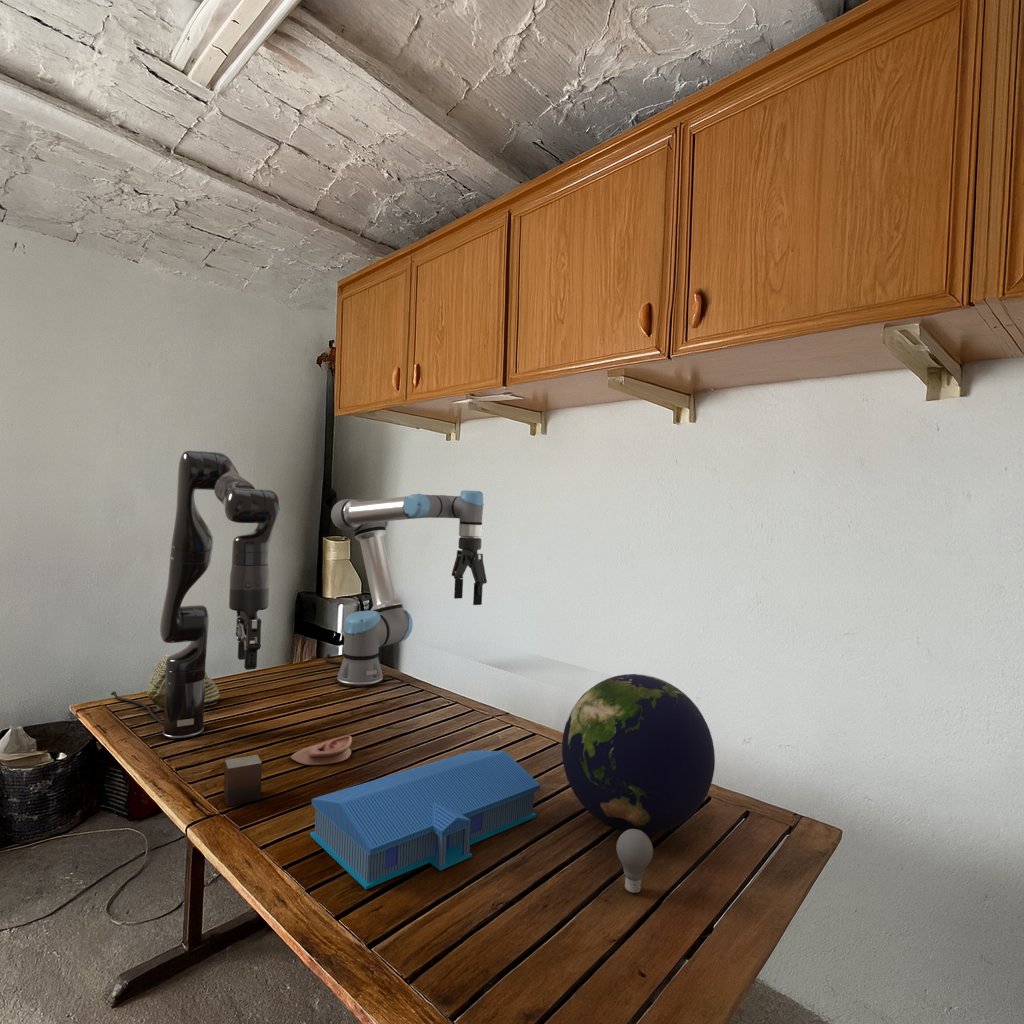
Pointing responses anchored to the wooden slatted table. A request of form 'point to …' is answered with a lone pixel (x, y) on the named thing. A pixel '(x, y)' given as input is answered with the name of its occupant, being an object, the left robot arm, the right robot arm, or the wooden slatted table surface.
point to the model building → (423, 815)
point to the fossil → (158, 687)
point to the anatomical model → (325, 752)
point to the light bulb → (634, 857)
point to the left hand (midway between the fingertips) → (246, 663)
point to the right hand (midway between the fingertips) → (467, 601)
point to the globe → (638, 754)
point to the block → (242, 780)
